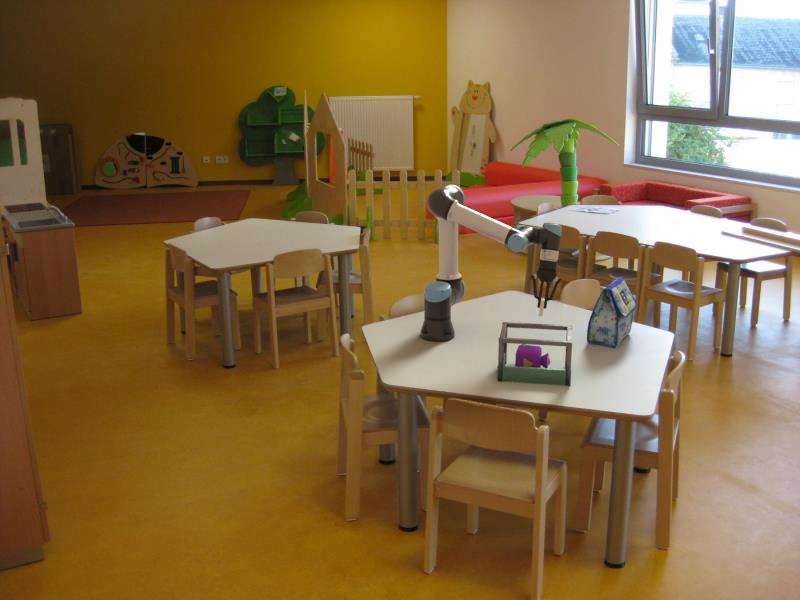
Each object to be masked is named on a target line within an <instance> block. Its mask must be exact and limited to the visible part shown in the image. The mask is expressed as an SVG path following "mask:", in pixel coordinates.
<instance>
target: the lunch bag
mask: <svg viewBox="0 0 800 600" xmlns="http://www.w3.org/2000/svg"><path fill="white" fill-rule="evenodd" d="M637 306H638V304H637V301H636V298H635V297H634V295H633V294H632V292H631V290H630V287H629V286H628V282H627V280H626V278H625V277H624V276H618V278H616V279H614V280H613V281H612V282H611V283H609V284H607V285H606V286H605V287H604V288H603V289H602V290H601V292H600V293H599V295H598V297H597V300H596V302H595V304H594V307H593V310H592V312H591V315H590V317H589V320H588V325H587V330H586V332H587V333H586V343H588V344H590V345H591V344H593V345H594V344H595V345H602V346H606V347H610V348H613V349H616V348H618V346H619V345H620V343H621V342H622V340H623V339H625V338H626V336H628V335H630V334H631V329H632V326H633V317H634V311H635V310H636V308H637Z"/></svg>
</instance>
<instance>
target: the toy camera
mask: <svg viewBox="0 0 800 600" xmlns="http://www.w3.org/2000/svg"><path fill="white" fill-rule="evenodd" d="M542 350H543V349H542V347H541V346H540V345H532V344H518V347H517V349H516V351H515V361H514V362H515V363H514V364H515V365H514V366H517V367H534V368H548V367H549V366H550V364H551V358H550V356H549V352H546V353H545V354H542V353H543V351H542ZM541 366H542V367H541Z"/></svg>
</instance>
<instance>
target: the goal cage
mask: <svg viewBox="0 0 800 600" xmlns="http://www.w3.org/2000/svg"><path fill="white" fill-rule="evenodd" d="M501 324H502V325H501V330H500V333H499V337H498V357H497V360H498V363H497V371H496V372H497V375H496V381H497V382H510V383H519V384H520V383H522V384H523V383H524V384H536V385H537V384H539V385H541V384H542V385H553V386H554V385H555V386H566V387H569V386H570V387H571V384H572V383H571V381H572V355H573V354H572V350H573V340H572V339H573V337H572V335H573V325H567V324H566V325H565V324H551V323H549V324H548V323H526V322H524V323H523V322H509V321H503V322H502V323H501ZM508 328H510V329H511V328H513V329H531V330H533V329H534V330H548V331H549V330H551V331H553V330H554V331H556V330H557V331H566V337H565V340H556V339H555V340H554V339H539V338H538V339H537V338H522V337H521V338H519V337H517V338H516V337H508ZM508 344H516V345H517V344H518V345H521V344H526V345H531V346H553V347H554V346H555V347H565V355H564V356H565V358H564V360H565V362H564V368H544V367H540V368H534V367H517V366H515V365H506V364H507V363H508V362H507V359H508V357H507V356H508V355H507V354H508Z"/></svg>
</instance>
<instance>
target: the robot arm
mask: <svg viewBox="0 0 800 600" xmlns="http://www.w3.org/2000/svg"><path fill="white" fill-rule="evenodd" d="M464 203H465V193H464V191H463V190H462V188H460V186H458V185H455V184H445V185H444V184H443V185H442V186H441V187H437V188H436V189H433V190H432V191H430V192H429V194H428V195H427V199H426V205H427V208H428V210H429V212H430V213H431V214H432V215H434V218H436V220H437V221H438V261H439V262H438V267H439V272H438V273H437V274H436V275H435V281H433V282H429V283H428V284H427V285H425V286H424V292H423V296H424V297H423V300H424V301H423V302H424V303H423V305H424V306H423V309H424V312H423V313H424V316H423V317H424V318H423V319H424V320H423V323H422V325H421V328H420V331H419V332H420V338H421V339H423V340H425V341H431V342H445V341H446V342H447V341H450V340H452V339H455V336H456V335H455V333H456V332H455V331H456V330H455V329H454V325H453V322H452V307H453V306H454V305H456V304H458V303H459V302H460V301H461V300H462V298H463V297H464V296H465V294H466V285H465V282H464V281H463V278H462V274H461V273H460V272H459V225H461V226H464V227H466V228H468V229H470V230H473V231H474V232H476V233H479V234H481V235H483V236H485V237H488V238H490V239H492V240H495V241H497V242H499V243H500V244H503V245H505V246H507V247H508V248H509V250H510V251H512V252H513V253H519V252H523V251H525V250H526V249H527V248H528V247H529V246H531V245H535V246H536V245H537V246H541V249H540V254H539V259H540V260H538V266H537V267H538V269H537V271H536V273H533V274H531V276H530V278H531V280H532V285H533V288H532V289H533V296H534V298H535V299H536V300H537V305H536V306H537V308H538V309H539V310H538V312H539V313H538V317H543V313H544V309H547V307H548V306H547V305H548V302H549V301H552V300H553V297H554V295H555V293H556V290H557V288H558V285H559V284H560V283H561V281H562V279H561V278H559V276H558V274H557V267H558V261H559V256H560V255H559V254H560V247H561V240H562V233H563V232H562V231H563V226H562V225H561V224H557V223H552V222H551V223H550V222H546V223H544V226H542V227H539V226H532V225H531V226H530V225H525V224H523V225H520V224H519V225H516V226H515V228H514V227H512V226H510V225H507V224H505V223H503V222H501V221H498V220H496V219H493V218H492V217H489V216H487V215H485V214H483V213H480V212H478V211H476V210H474V209H471V208H469V207H467V206H464ZM537 278H538V279H539V281H540V285H539V292H538V289H537V281H536V280H537ZM553 281H555V283H554V285H553V289H552V291H551V293H550V296H549V291H550V284H551V283H552V282H553ZM545 283H546V288H545V294H544V295H545V296H544V300H542V296H543V289H544V284H545Z"/></svg>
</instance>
